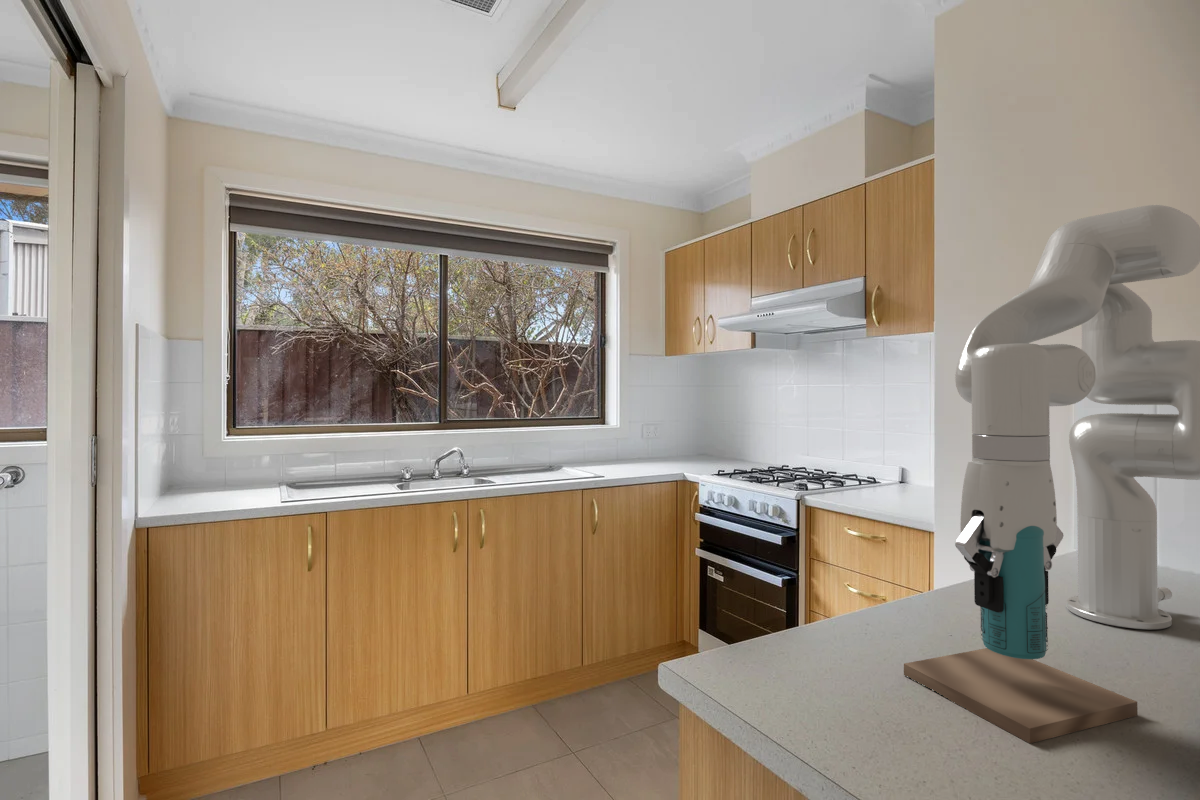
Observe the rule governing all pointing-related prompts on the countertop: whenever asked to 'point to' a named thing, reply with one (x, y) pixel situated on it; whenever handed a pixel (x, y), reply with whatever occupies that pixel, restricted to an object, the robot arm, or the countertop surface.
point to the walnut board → (1021, 693)
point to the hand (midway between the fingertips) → (1011, 603)
